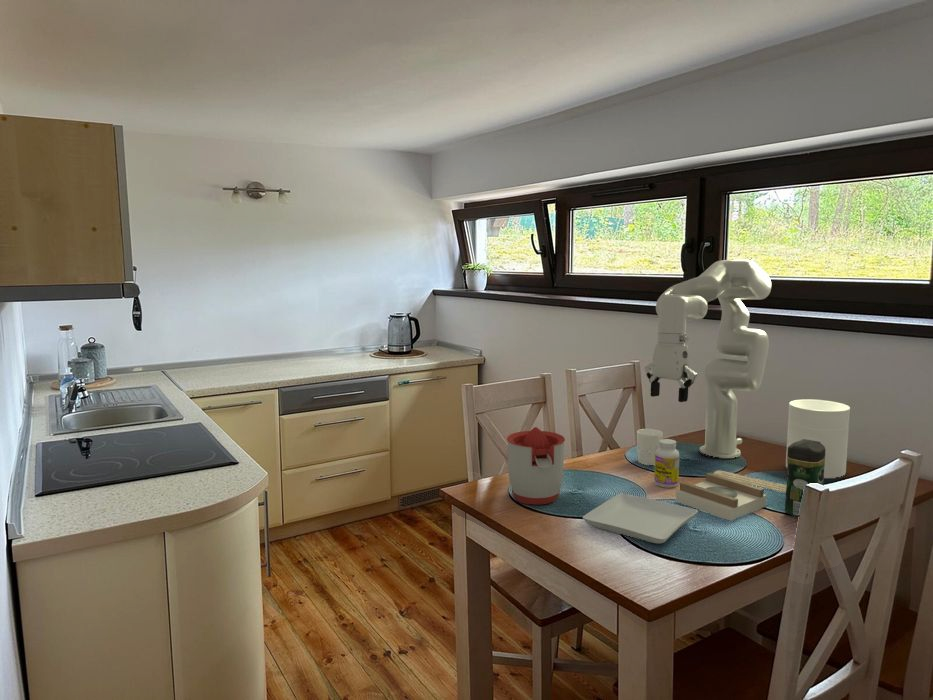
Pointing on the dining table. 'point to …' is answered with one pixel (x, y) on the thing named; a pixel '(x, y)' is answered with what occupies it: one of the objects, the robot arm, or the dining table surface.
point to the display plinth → (722, 497)
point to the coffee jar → (802, 471)
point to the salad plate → (639, 517)
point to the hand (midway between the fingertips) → (668, 398)
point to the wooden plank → (752, 481)
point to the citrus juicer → (536, 465)
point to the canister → (821, 430)
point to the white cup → (648, 445)
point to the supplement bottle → (666, 464)
